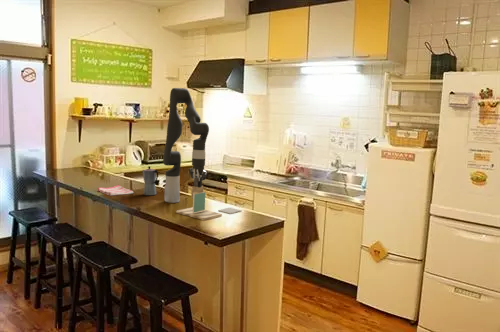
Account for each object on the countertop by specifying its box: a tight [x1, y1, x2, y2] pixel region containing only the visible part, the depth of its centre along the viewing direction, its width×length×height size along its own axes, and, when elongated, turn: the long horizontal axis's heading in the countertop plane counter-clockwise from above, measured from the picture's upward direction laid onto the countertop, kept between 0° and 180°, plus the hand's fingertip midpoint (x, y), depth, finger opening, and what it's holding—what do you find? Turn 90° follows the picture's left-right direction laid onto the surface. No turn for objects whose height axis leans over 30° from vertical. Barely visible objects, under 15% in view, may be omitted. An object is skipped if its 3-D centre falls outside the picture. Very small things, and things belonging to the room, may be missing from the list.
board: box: [175, 206, 223, 221], centre depth 246 cm, size 24×14×1 cm, turn 50°
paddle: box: [190, 177, 204, 200], centre depth 244 cm, size 3×7×12 cm, turn 140°
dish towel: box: [97, 184, 134, 197], centre depth 301 cm, size 17×23×4 cm
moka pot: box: [142, 165, 159, 196], centre depth 295 cm, size 10×15×20 cm, turn 59°
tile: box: [192, 191, 207, 213], centre depth 245 cm, size 11×9×1 cm
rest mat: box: [217, 207, 242, 215], centre depth 256 cm, size 10×10×1 cm
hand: (197, 186), depth 244 cm, fingers closed on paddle, 2 cm apart
